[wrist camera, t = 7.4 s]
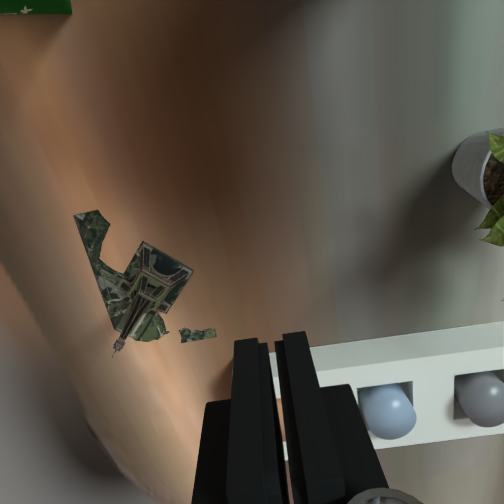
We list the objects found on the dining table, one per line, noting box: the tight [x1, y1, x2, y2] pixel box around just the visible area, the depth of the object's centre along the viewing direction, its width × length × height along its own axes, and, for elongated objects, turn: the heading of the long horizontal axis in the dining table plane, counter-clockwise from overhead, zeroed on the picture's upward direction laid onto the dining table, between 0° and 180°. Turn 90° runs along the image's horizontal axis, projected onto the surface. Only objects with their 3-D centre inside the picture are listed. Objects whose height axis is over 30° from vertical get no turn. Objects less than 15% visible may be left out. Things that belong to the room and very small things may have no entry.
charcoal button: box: [454, 371, 504, 427], centre depth 38 cm, size 4×4×3 cm
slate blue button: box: [359, 383, 417, 440], centre depth 38 cm, size 4×4×3 cm
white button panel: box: [232, 321, 504, 460], centre depth 40 cm, size 28×10×4 cm, turn 99°
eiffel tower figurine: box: [74, 210, 216, 358], centre depth 32 cm, size 15×10×13 cm
